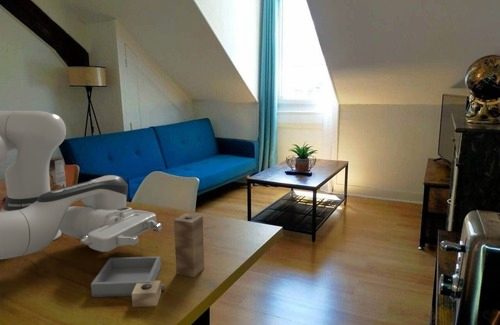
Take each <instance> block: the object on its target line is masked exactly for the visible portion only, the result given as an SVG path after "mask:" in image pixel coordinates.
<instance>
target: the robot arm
mask: <svg viewBox="0 0 500 325" xmlns="http://www.w3.org/2000/svg"><path fill="white" fill-rule="evenodd" d="M66 135H67V126H66V123H65V122H64V120H63V119H62V117H61V116H59V115H58V114H55V113H51V112H48V111H43V110H0V165H2V164H4V162H5V161H6V159H7V156H8V152H11V151H14V150H16V157H15V160H14V162H13V163H11V164H10V165H8V166H7V168H5V171H4V178H5V186H6V192H7V193H6V195H7V196H5V197H3V198H2V199H0V205H3V206H2V209H0V260H4V259H5V260H6V259H11V258H18V257H21V256H25V255H30V254H33V253H36V252H40V251H42V250H44V249H45V248H47V247H48V246H49V245H50V244H52V242H53V241H54V240H56V239H59V237H61V235H62V233H63V234H64V235H67V236H70V237H73V238H76V239H79V240H80V244H82V245H88V248H90V249H92V250H94V251H97V252H102V253H107V252H108V253H109V252H110V251H112V250H114V249H116V248H117V247H119V246H120V247H121V246H128V245H129V246H130V245H131V246H136V245H137V244H138V243H140V242H139V237H138V236H140V235H142V234H143V233H145V232H147V231H149V230H152V232H156V233H158V232H160V231H161V230H162V229H163V227H162V224H161V223H158V222H157V215H156V213H154V212H151V211H147V210H141V209H133V208H132V207H130V206H127V195H128V189H129V185H128V183H127V182H126V181H125V179H124V178H123V177H122V176H118V175H112V174H111V175H110V174H108V175H103V176H100V177H95V178H94V179H91V180H89V181H84V182H79V183H77V184H73V185H69V186H66V187H64V188H60V189H57V190H53V191H51V190H50V180H49V164H50V159H51V157H52V156H53V154H54V152H55V150H56V149H57V148H58V147H59V146H60V145H61V144H62V143H63V142H64V141H65V138H66ZM89 197H92V208H90V207H87V206H79V205H78V206H74V205H73V204H74V203H76V202H78V201H81V200H82V199H86V198H89ZM72 205H73V206H72Z"/></svg>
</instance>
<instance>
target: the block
mask: <svg viewBox="0 0 500 325" xmlns="http://www.w3.org/2000/svg"><path fill="white" fill-rule="evenodd" d="M203 220H204V218H203V215H198V214H190V213H184V214H181V215H180V216H178V217H177V218H175V219H174V220H173V229H174V248H175V251H174V252H175V270H176V271H175V272H176V274H177V275H180V276H184V277H189V278H196V276H198V275H199V274H200V273H201V272H202V271H203V270H204V269H205V255H204V254H205V252H204V251H205V250H204V221H203Z"/></svg>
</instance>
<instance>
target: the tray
mask: <svg viewBox="0 0 500 325" xmlns="http://www.w3.org/2000/svg"><path fill="white" fill-rule="evenodd" d="M161 260H162V259H161V256H159V255H158V256H130V257H128V256H127V257H125V256H124V257H109V258H108V260H107V261H106V263H105V264H104V265H103V267H102V268H101V269H100V271H99V272H98V274H97V275H96V276H95V278H94V279H93V280H92V282H91V283H90V290H91V297H92V298H104V297H106V298H107V297H111V298H113V297H132V292H133V290H134V288H135V286H136V284H137V283H150V281H158V276H159V274H160V271H161V269H162V261H161Z"/></svg>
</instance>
